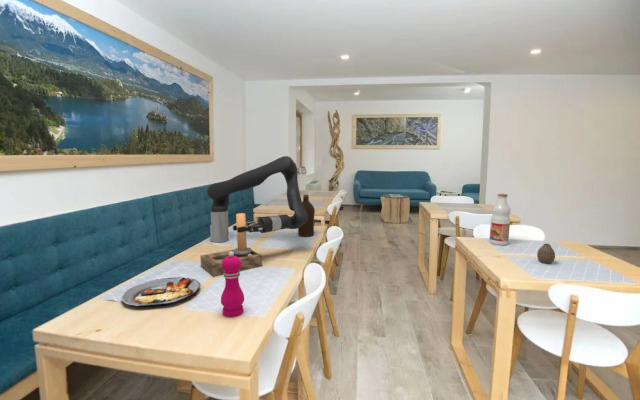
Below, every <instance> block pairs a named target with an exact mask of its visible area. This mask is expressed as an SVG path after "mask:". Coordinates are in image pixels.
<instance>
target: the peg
mask: <svg viewBox="0 0 640 400" xmlns="http://www.w3.org/2000/svg"><path fill="white" fill-rule="evenodd" d="M235 216H236V217H235V219H236V222H235V223H236V225H237V228H238V227H244V226H245V227H246V222H247V221H246V220H247V219H246V213H245V212H244V213H243V212H239V213H236V214H235ZM236 241H237V248H234V249H232V250H233V252H234V255H236V256H245V255H248V256H250V255H252V254H251V250H252V248H251V247H247V246H248V245H247V232H239V233H238V232H237V231H236Z"/></svg>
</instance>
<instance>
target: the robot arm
mask: <svg viewBox="0 0 640 400" xmlns="http://www.w3.org/2000/svg"><path fill="white" fill-rule="evenodd" d="M278 173H281V175H283V177H284V181H286V198H287V205H288V208H289V210H290V211H293V212H294V214H293V215H291V216H290V215H288V214H277V215H267V216H261V217H258V218H257V221H255V220H253V221H250V220H248V221H246V227H245V226H244V227H238V228H237V224H236V225H233V226H232V230H233V231H236V233H237V232H238V233H239V232H246V233H258V232H260V233H261V234H266V233H271V232H277V231H281V230H286V229H287V230H288V229H289V230H297V229H298V228H300V227H301V226H302V225H303V224H304V223H306V221H307V219H308V215H307V212H306V210H305V208H304V206H303V204H302V202H303V201H302V200H303V199H302V197H301V192H300V189H299V182H298V180H299V179H298V167H297V164H296V162H295V161H294V160H293V158H291V157H290V156H288V155H287V156H286V155H285V156H281V157H278V158H276V159H275V160H273V161H270V162H269V163H266V164H264V165H260V166H259V167H257V168H254V169H253V168H252V169H250V170H247V171H244V172H242V173H240V174H238V175H236V176H234V177H232V178H230V179H227V180H224V181H220V182H216V183H215V182H214V183H212V184H211V185H209V187H208V188H207V191H206V192H207V196H208V197H209V198H210V199H211V200H213V201H212V204H211V205H210V219H211V220H210V221H211V222H210V225H209V231H210V232H209V233H210V242H213V243H224V242H228V241H230V239H229V237H230V234H229V233H230V232H229V210H228V209H229V205H230V195H231V194H232V193H236V192H242V191H245V190H249V189H252V188H255V187H258V186H260V185H262V184H263V183H264V182H265V181H266V180H267V179H268V178H269V177H270V176H273V175H276V174H278Z"/></svg>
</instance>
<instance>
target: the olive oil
mask: <svg viewBox="0 0 640 400" xmlns="http://www.w3.org/2000/svg"><path fill="white" fill-rule="evenodd" d="M309 199H310V198H309V194H303V197H302V200H303V201H302V204H303V206H304V208H305V210H306V212H307V215H308V219H307V221H306V223H304V224H303V225H302V226H301V227H300V228H297V229H298V230H297V234H298V236H299V237H302V238H308V237H313V236H314V235H315V234H314V232H315V207H314V206H313V204H312V203H311V201H310V200H309Z"/></svg>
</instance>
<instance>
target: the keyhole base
mask: <svg viewBox="0 0 640 400" xmlns="http://www.w3.org/2000/svg"><path fill="white" fill-rule="evenodd" d="M233 250H234V249H230V250H223V251H217V252H213V253H212V252H211V253H208V254H201V255H200V267H201V268H202V269H203V270H204V271H206V272H207V273H208V274H209V275H211V276H212V277H213V278H216V277H219V276H224V274H223V273H224V270H223V269H222V261H223V259H224V258H226V257H228V253H229V252H230V251H232V252H233ZM234 256H236V255H234ZM237 257H238V258H239V259H240V260H241V268H240V269H239V271H240V272H243V271H247V270H252V269H255V268H260V267H263V255H262V254H260V253H258V252H257V251H255V250H252V249H251V254H249V255H245V256H237ZM251 268H252V269H251Z"/></svg>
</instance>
